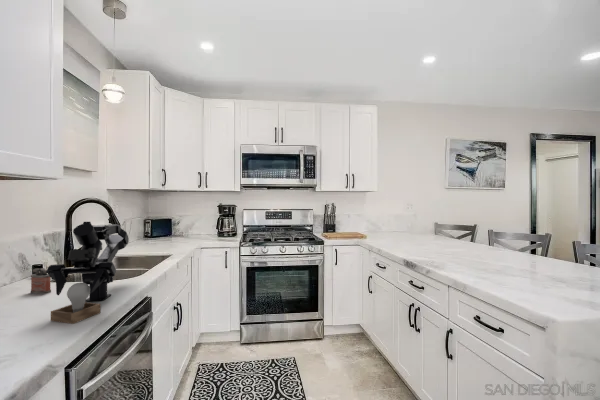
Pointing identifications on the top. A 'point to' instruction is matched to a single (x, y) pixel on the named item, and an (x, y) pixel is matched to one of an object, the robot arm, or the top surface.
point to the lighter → (40, 282)
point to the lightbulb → (78, 295)
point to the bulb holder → (68, 316)
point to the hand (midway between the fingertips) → (74, 293)
